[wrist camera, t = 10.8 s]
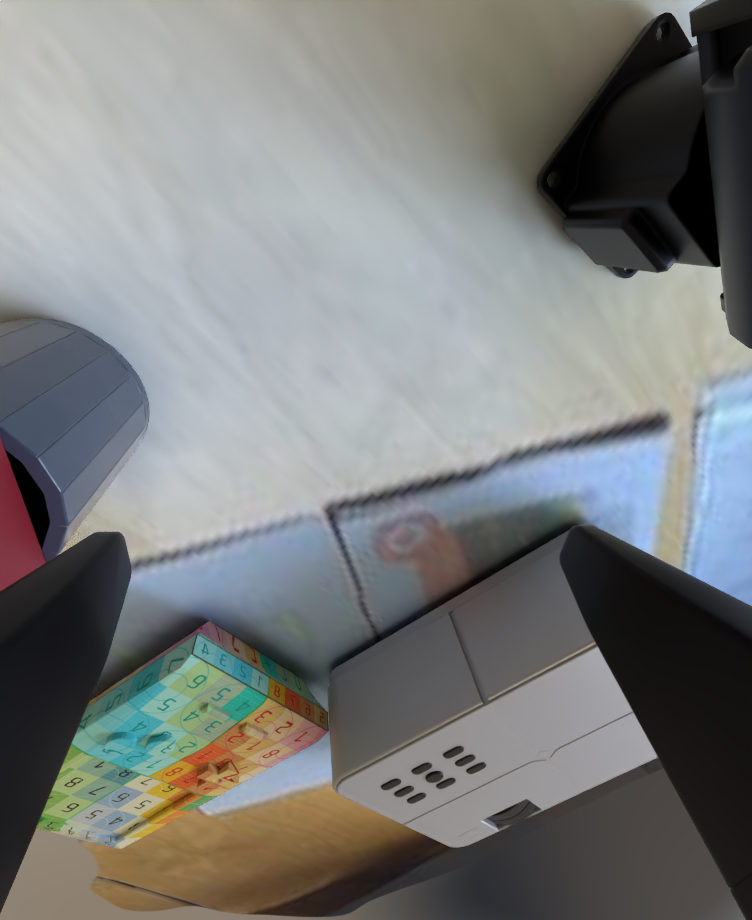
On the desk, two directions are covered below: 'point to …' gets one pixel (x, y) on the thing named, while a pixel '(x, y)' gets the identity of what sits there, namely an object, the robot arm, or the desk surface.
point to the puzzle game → (179, 738)
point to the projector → (482, 709)
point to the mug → (65, 421)
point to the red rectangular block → (15, 530)
